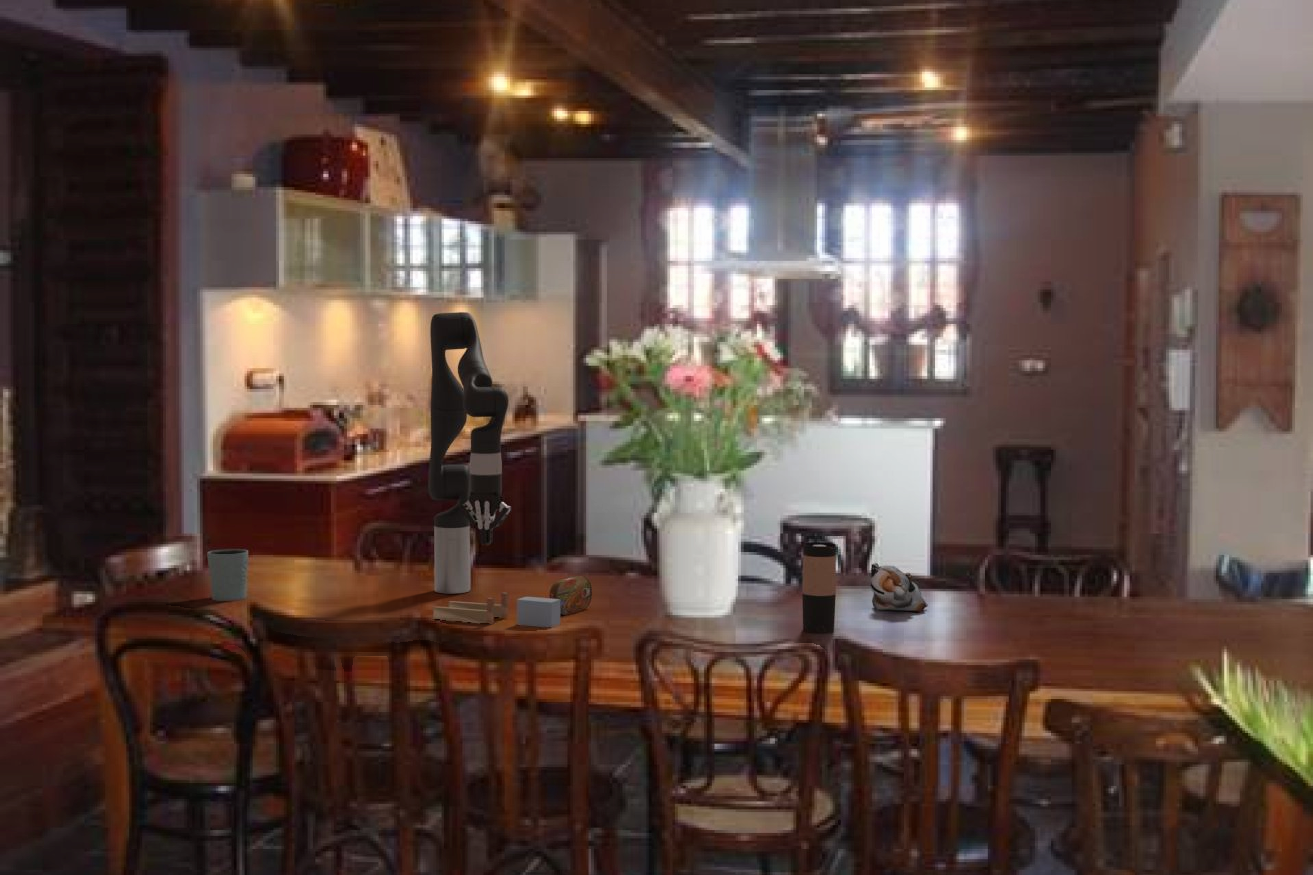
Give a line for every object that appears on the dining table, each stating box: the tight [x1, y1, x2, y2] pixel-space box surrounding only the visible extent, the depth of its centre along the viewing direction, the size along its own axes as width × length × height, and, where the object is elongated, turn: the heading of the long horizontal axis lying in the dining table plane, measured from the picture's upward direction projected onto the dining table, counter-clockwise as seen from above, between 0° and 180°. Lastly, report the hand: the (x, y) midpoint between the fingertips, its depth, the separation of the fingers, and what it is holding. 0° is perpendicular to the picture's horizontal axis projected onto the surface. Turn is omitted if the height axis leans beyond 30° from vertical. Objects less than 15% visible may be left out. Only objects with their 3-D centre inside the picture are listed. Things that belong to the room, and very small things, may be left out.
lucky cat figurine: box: [870, 562, 929, 613], centre depth 378 cm, size 15×12×14 cm
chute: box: [432, 592, 509, 625], centre depth 364 cm, size 9×15×6 cm, turn 70°
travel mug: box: [801, 541, 837, 634], centre depth 353 cm, size 8×8×20 cm
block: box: [516, 596, 561, 629], centre depth 358 cm, size 4×9×6 cm, turn 68°
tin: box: [549, 575, 593, 616], centre depth 374 cm, size 15×3×8 cm, turn 148°
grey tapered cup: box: [206, 548, 249, 602], centre depth 390 cm, size 10×10×12 cm
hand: (485, 544), depth 362 cm, fingers closed
